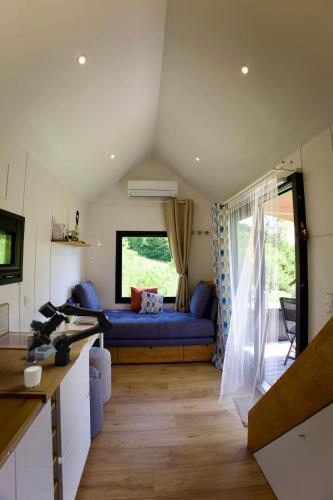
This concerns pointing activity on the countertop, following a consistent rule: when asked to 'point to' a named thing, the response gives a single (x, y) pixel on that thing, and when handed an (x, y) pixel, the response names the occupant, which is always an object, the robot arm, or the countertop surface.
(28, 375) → the white cup
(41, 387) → the countertop surface
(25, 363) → the pin
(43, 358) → the pin tray
